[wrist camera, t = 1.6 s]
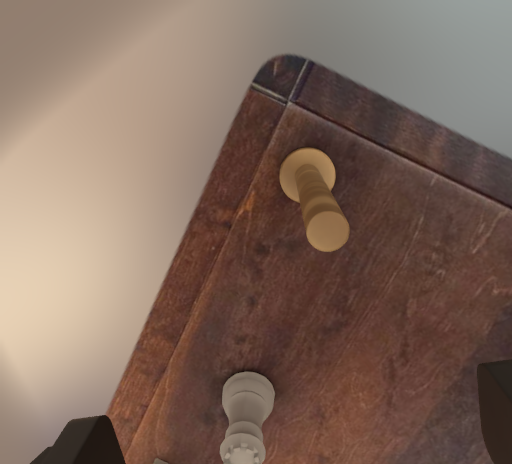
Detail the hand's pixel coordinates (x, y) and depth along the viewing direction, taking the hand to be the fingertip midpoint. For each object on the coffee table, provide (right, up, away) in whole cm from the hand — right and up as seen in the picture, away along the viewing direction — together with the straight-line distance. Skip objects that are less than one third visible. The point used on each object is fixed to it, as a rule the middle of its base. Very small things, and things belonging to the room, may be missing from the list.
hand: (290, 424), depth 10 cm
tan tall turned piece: (+3, +8, +24) cm, 25 cm away
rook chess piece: (-1, -9, +29) cm, 31 cm away
